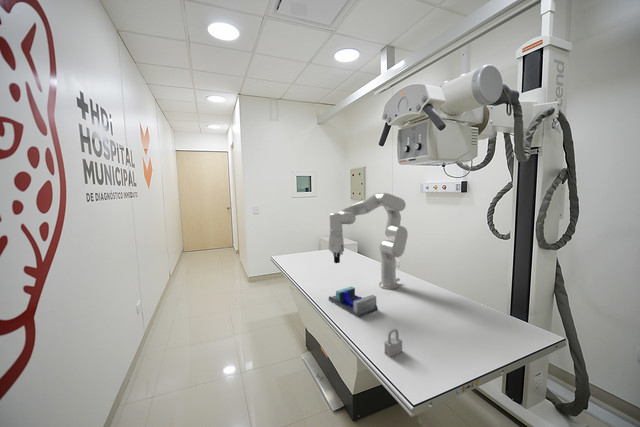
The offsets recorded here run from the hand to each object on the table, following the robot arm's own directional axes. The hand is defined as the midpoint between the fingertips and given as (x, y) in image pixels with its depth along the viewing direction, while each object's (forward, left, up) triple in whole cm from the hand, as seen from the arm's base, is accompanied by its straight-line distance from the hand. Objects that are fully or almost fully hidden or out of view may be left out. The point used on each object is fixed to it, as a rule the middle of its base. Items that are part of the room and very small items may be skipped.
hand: (337, 262), depth 161 cm
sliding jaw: (0, +8, -20) cm, 22 cm away
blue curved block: (+1, +16, -21) cm, 26 cm away
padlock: (+15, +57, -22) cm, 63 cm away
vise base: (0, +14, -22) cm, 26 cm away
